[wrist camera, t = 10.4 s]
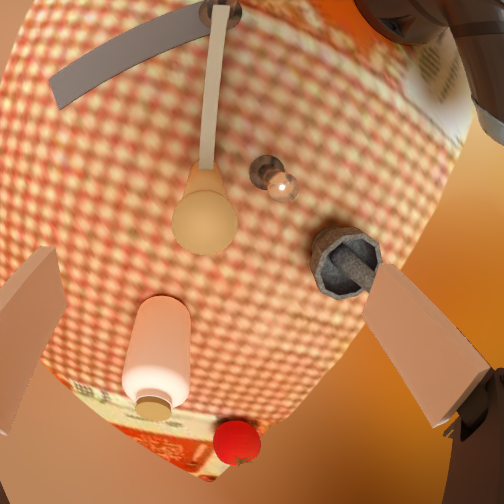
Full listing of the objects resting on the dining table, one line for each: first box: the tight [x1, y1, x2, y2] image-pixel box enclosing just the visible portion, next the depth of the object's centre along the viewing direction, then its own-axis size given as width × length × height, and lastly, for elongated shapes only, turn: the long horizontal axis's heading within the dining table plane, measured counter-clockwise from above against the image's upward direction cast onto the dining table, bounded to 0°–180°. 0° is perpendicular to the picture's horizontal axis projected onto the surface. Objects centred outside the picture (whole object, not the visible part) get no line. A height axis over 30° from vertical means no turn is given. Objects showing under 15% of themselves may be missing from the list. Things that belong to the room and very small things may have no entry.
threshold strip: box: [49, 0, 235, 110], centre depth 26 cm, size 24×5×1 cm, turn 110°
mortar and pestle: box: [310, 226, 382, 300], centre depth 37 cm, size 11×9×12 cm
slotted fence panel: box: [171, 5, 238, 255], centre depth 23 cm, size 21×4×18 cm, turn 174°
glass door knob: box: [249, 155, 299, 203], centre depth 32 cm, size 4×4×9 cm
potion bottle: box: [122, 296, 191, 421], centre depth 35 cm, size 8×8×18 cm
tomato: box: [213, 420, 261, 466], centre depth 55 cm, size 10×11×11 cm
